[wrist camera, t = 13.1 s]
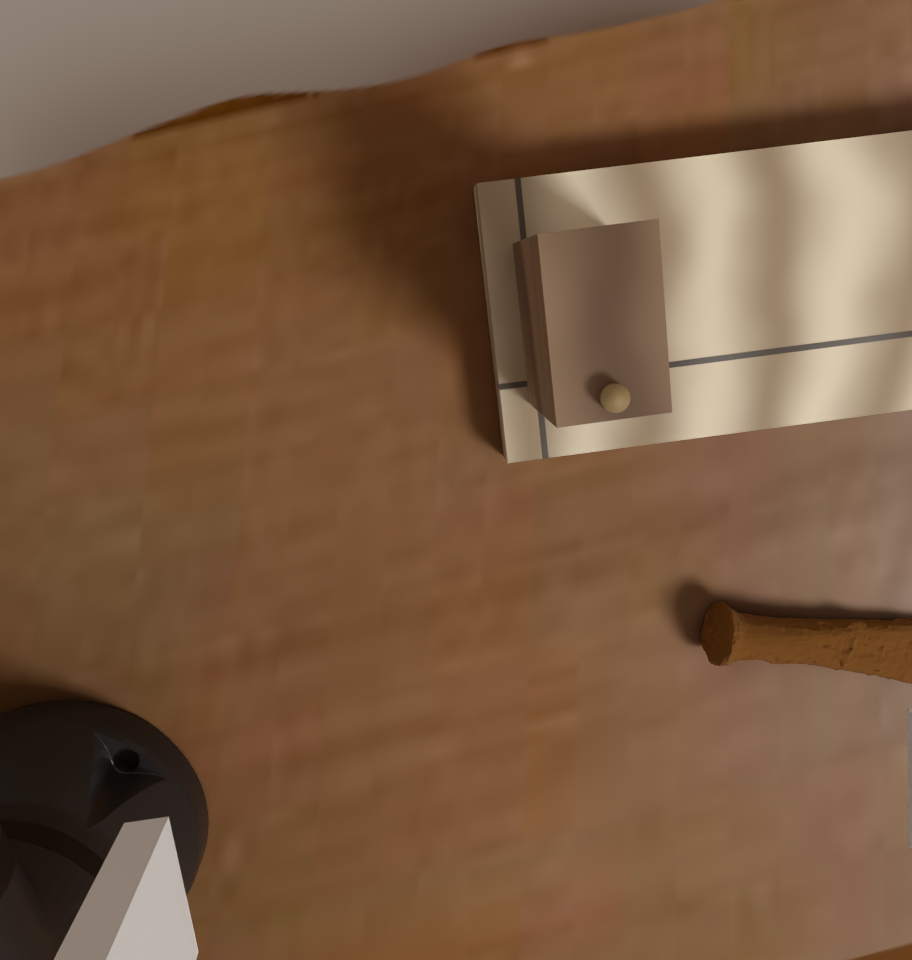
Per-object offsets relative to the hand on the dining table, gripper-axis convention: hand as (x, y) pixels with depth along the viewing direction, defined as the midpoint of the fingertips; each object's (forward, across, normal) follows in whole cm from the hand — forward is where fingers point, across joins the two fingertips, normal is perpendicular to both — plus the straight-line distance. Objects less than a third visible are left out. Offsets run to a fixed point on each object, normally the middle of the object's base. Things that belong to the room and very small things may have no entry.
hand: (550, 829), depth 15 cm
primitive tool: (+33, +23, -14) cm, 43 cm away
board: (+33, +17, +7) cm, 38 cm away
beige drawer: (+31, +7, +7) cm, 32 cm away
